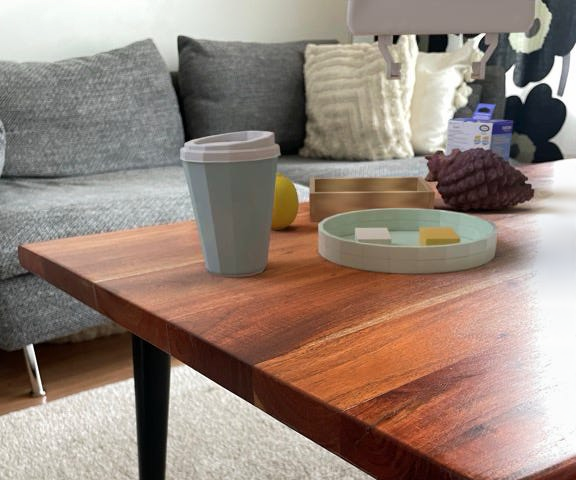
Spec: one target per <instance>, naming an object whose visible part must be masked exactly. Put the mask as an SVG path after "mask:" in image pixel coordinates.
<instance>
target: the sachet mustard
mask: <svg viewBox="0 0 576 480" xmlns="http://www.w3.org/2000/svg"><path fill="white" fill-rule="evenodd" d="M455 243H460V237H459V236H458V235H457V233H456V232H455V231H454V230H453V228H452V227H420V228H419V244H420V246H432V245H447V244H455Z"/></svg>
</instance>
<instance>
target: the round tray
mask: <svg viewBox="0 0 576 480" xmlns="http://www.w3.org/2000/svg"><path fill="white" fill-rule="evenodd" d="M317 225H318V226H317V250H318V251H317V252H318V254H319V255H320V256H321V257H322V258H323V259H325V260H327V261H328V262H331V263H333V264H336V265H338V266H339V265H340V266H342V267H346V268H351V269H355V270H361V271H366V272H373V273H374V272H375V273H385V274H398V275H399V274H400V275H426V274H427V275H428V274H429V275H430V274H444V273H452V272H458V271H459V272H460V271H465V270H469V269H474V268H477V267H480V266H482V265H485V264H488V263H489V262H491V261H492V260H493V259H494V258H495V256H496V252H497V244H498V234H499V227H498V226H497V225H496V224H495V223H494V222H493V221H490V220H488V219H486V218H483V217H482V216H477V215H474V214H469V213H464V212H458V211H451V210H443V209H435V208H434V209H420V208H385V209H369V210H359V211H352V212H347V213H341V214H337V215H334V216H331V217H328V218H325V219H324V220H323V221H321V222H318V224H317ZM420 227H452V228H453V230H454V231H455V232H456V233H457V235H458V236H459V237H460V243H455V244H447V245H432V246H420V244H419V228H420ZM355 228H387V229H388V231H389V234H390V236H391V239H392V245H382V244H371V243H363V242H358V241H355Z"/></svg>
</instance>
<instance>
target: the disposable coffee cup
mask: <svg viewBox="0 0 576 480" xmlns="http://www.w3.org/2000/svg"><path fill="white" fill-rule="evenodd" d="M275 138H276V137H275V132H273V131H266V130H244V131H236V132H227V133H221V134H215V135H214V134H213V135H209V136H203V137H199V138H194V139H191V140H189V141H187V142H185V143H184V144H183V147H181V148H180V149H179V160H181V161H182V166H183V171H184V175H185V179H186V185H187V189H188V192H189V193H188V194H189V198H190V203H191V207H192V211H193V215H194V221H195V224H196V228H197V233H198V237H199V241H200V246H201V250H202V256H203V260H204V264H205V268H206V269H207V271H209V273H210V274H212V275H214V276H219V277H224V278H225V277H226V278H242V277H251V276H254V275H257V274H258V275H259V274H260V273H263V272H264V270H265V269H266V267H267V266H268V262H269V261H268V260H269V252H270V241H271V231H272V227H271V222H272V212H273V202H274V192H275V182H276V173H278V172H277V171H278V162H279V160H278V159H279V156H281V155H282V154H281V147H280V145H279V143H276V140H275Z"/></svg>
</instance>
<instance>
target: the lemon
mask: <svg viewBox="0 0 576 480" xmlns="http://www.w3.org/2000/svg"><path fill="white" fill-rule="evenodd" d="M298 194H299V193H298V190H297V188H296V186H295V184H294V183H293V182H292V181H291V180H290V179H289V178H287V176H283V175H282V174H281V173H279V172H276V182H275V192H274V202H273V212H272V222H271V229H273V230H275V231H283V230H285V229H286V228H287V227H289V226H291V225H292V224H293V223H294V222H295V220H296V218H297V216H298V212H299V195H298Z"/></svg>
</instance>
